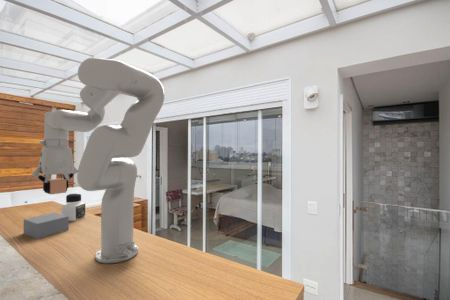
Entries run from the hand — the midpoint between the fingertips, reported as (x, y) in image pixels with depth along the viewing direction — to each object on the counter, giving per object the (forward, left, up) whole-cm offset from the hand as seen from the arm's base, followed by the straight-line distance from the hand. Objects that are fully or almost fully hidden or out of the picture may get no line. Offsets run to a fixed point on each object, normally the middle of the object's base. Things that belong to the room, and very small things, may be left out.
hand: (56, 191), depth 89 cm
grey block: (+10, 0, -18) cm, 20 cm away
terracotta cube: (0, 0, -1) cm, 1 cm away
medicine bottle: (+20, -14, -18) cm, 30 cm away
